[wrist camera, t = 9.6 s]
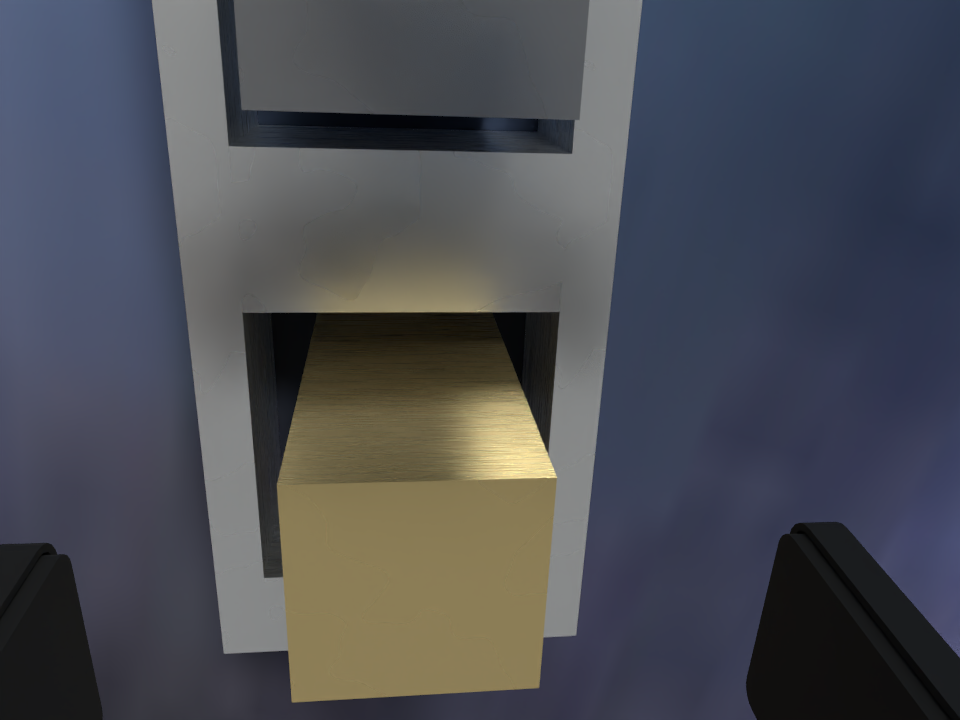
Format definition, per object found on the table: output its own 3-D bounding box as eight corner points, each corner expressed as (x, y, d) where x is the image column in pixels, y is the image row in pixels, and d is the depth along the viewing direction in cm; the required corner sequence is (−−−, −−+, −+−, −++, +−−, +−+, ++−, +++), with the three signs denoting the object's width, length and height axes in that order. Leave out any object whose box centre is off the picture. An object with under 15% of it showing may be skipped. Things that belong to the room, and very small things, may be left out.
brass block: (489, 304, 19) (556, 477, 12) (482, 452, 20) (538, 687, 13) (319, 305, 18) (276, 484, 11) (325, 455, 20) (292, 702, 13)
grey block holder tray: (618, -317, 14) (686, -417, 11) (547, 546, 22) (576, 635, 18) (166, -361, 14) (99, -483, 10) (248, 557, 21) (224, 653, 18)
